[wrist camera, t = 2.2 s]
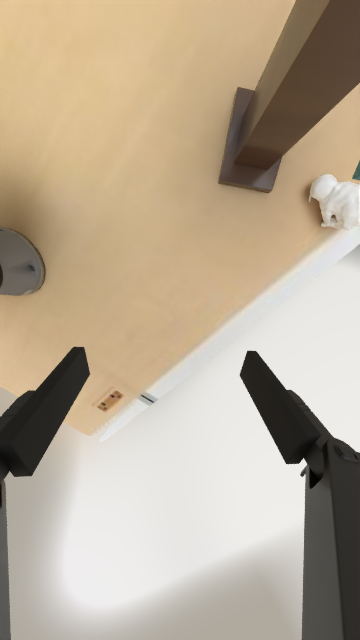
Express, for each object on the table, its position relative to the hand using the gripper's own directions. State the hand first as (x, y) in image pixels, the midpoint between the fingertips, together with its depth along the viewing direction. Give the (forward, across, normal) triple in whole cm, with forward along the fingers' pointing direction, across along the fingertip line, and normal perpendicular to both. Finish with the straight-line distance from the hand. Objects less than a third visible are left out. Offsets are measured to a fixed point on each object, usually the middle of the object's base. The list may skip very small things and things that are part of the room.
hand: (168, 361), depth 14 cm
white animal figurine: (+30, +33, +18) cm, 48 cm away
